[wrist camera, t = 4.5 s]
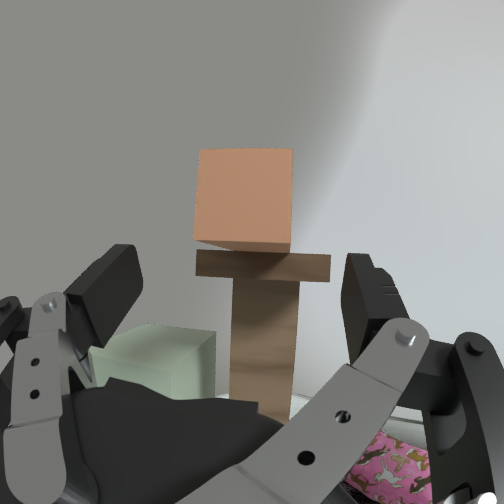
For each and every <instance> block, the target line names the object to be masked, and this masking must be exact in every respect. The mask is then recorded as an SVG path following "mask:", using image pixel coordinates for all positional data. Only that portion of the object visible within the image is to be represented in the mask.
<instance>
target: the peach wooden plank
mask: <svg viewBox="0 0 504 504" xmlns="http://www.w3.org/2000/svg"><path fill="white" fill-rule="evenodd" d="M292 158H293V149H281V148H279V149H278V148H231V149H201V150H200V160H199V172H198V182H197V194H196V195H197V196H196V207H195V222H194V240H196V241H200V242H203V243H207V244H211V245H215V246H219V247H222V248H226V249H230V250H234V251H249V252H274V253H290V245H291V216H292V215H291V214H292V165H293V159H292Z"/></svg>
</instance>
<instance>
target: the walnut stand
mask: <svg viewBox="0 0 504 504" xmlns="http://www.w3.org/2000/svg"><path fill="white" fill-rule="evenodd" d="M330 264H331V255H324V254H299V253H274V252H249V251H223V250H199V249H198V250H197V254H196V276H208V277H224V278H225V277H226V278H233V294H232V320H231V349H230V350H231V351H230V382H229V399H233V400H243V401H254V402H258V403H259V414H262V415H265V416H268V417H270V418H273V419H275V420H277V421H279V422H281V423H282V424H284V425H285V424H286V423H287V422H288V421H289V414H290V405H291V395H292V384H293V373H294V362H295V349H296V336H297V321H298V305H299V287H300V281H308V282H330Z"/></svg>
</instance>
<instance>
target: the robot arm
mask: <svg viewBox="0 0 504 504" xmlns="http://www.w3.org/2000/svg"><path fill="white" fill-rule="evenodd" d="M142 289H143V277H142V273H141V269H140V264H139V260H138V256H137V251H136V248H135V246H134V245H130V244H115V245H114V246H113V247H112V248H110V249H109V250H108V251H107V253H105V254H104V255H103V256H102V257H101V258H99V259H97V260H96V261H94V262H93V263H92V264H91V265H90V266H89V267H88V268H87V270H85V271H84V272H83V273H82V274H81V276H79V277H78V278H77V279H76V280H75V281H74V282H73V283H72V284H71V285H70V286H69V287H68V288H67V289H66V290H65V291H64V292H63V293H60V292H52V293H49V294H46V295H44V296H42V297H41V298H39V299H38V300H37V301H36V302H35V303H34V305H33V307H31V308H22V305H21V303H20V301H19V299H18V298H17V297H15V296H9V297H6V298H4V299H2V300H0V346H1V344H2V343H3V342H4V340H5V341H6V342H7V344H8V345H9V347H10V349H11V351H12V352H13V354H14V356H13V357H12V358H11V360H10V361H9V363H8V364H7V366H6V367H5V368H4V370H3V371H2V373H1V374H0V504H358V503H357V502H356V501H355V500H354V499H353V497H352V496H351V495H350V494H349V493H348V492H347V491H346V490H345V489H344V488H343V487H342V485H341V482H342V481H343V480H344V479H345V478H346V476H347V475H348V474H349V473H350V471H351V470H352V469H353V468H354V466H355V465H356V464H357V462H358V461H359V460H360V459H361V457H362V456H363V454H364V453H365V452H366V450H367V449H368V448H369V446H370V445H371V443H372V442H373V441H374V439H375V438H376V436H377V435H378V433H379V432H380V430H381V429H382V427H383V426H384V424H385V423H386V421H387V420H388V418H389V417H390V415H391V413H392V412H393V410H394V409H395V407H396V406H401V407H405V408H411V409H416V410H421V411H422V417H423V423H424V429H425V436H426V443H427V450H428V458H429V466H430V476H431V488H432V504H504V369H503V366H502V364H501V362H500V359H499V357H498V355H497V353H496V351H495V349H494V347H493V345H492V344H491V343H490V341H489V340H487V339H486V338H485V337H484V336H482V335H480V334H477V333H474V332H465V333H462V334H461V335H459V336H458V337H457V339H456V341H455V343H454V344H449V343H444V342H439V341H434V340H431V339H429V334H428V332H427V330H426V329H425V328H424V327H423V326H422V325H421V324H419V323H418V322H416V321H414V320H411V319H410V318H409V315H408V313H407V311H406V308H405V306H404V304H403V302H402V299H401V297H400V295H399V293H398V290H397V288H396V287H395V284H394V282H393V279H392V277H391V276H390V275H389V274H388V273H387V272H386V271H385V270H384V269H382V268H375V267H374V265H373V263H372V260H371V258H370V256H369V254H360V253H348V255H347V258H346V264H345V271H344V277H343V284H342V290H341V309H342V314H343V320H344V327H345V333H346V339H347V345H348V352H349V358H350V365H349V364H344V365H343V366H342V367H341V368H340V369H339V370H338V371H337V372H336V373H335V374H334V375H333V377H332V378H331V379H330V380H329V381H328V382H327V383H326V384H325V385H324V386H323V387H322V389H321V390H319V392H318V393H317V394H316V395H315V396H314V397H313V398H312V399H311V400H310V401H309V402H308V403H307V404H306V405H305V406H304V407H303V408H302V409H301V410H300V411H299V412H298V413H297V414H296V415H295V416H294V417H293V418H292V419H291V420H289V421H288V422H287V423H286V424H285V425H284V424H282V423H281V422H279V421H277V420H275V419H273V418H270V417H268V416H265V415H262V414H259V403H258V402H254V401H243V400H233V399H225V398H204V399H186V400H175V399H171V398H169V397H166V396H164V395H162V394H160V393H158V392H156V391H154V390H152V389H150V388H147V387H145V386H143V385H141V384H138V383H134V382H129V381H125V380H121V379H117V378H113V377H109V379H108V380H107V382H106V384H105V386H103V387H97V383H96V378H95V372H94V366H93V361H92V355H91V353H90V351H89V348H90V347H91V346H94V347H98V348H103V349H104V347H105V346H106V344H107V343H108V341H109V340H110V338H111V337H112V335H113V334H114V332H115V331H116V329H117V328H118V326H119V325H120V323H121V322H122V320H123V319H124V317H125V316H126V314H127V313H128V311H129V310H130V308H131V307H132V305H133V304H134V303H135V301H136V300H137V298H138V297H139V295H140V294H141V292H142ZM10 422H11V424H10V426H9V427H8V425H9V423H10Z"/></svg>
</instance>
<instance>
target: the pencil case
mask: <svg viewBox="0 0 504 504" xmlns="http://www.w3.org/2000/svg"><path fill="white" fill-rule="evenodd" d="M344 480H345V481H346V482H348V483H350V484H351V485H352V486H353V487H355V488H356V489H358V490H359V491H360V492H362V493H363V494H364V495H366V496H367V497H369V498H370V499H372V500H375V501H377V502H379V503H381V504H432V488H431V476H430V466H429V458H428V451H426V450H423V449H420V448H417V447H414V446H411V445H409V444H407V443H404V442H402V441H399V440H397V439H395V438H393V437H391V436H389V435H388V434H386V433H384V432H381V431H380V432H379V433H378V435H377V436H376V438H375V439H374V441H373V442H372V443H371V445H370V446H369V448H368V449H367V450H366V452H365V453H364V454H363V456H362V457H361V459H360V460H359V461H358V462H357V464H356V465H355V466H354V468H353V469H352V470H351V471H350V473H349V474H348V475H347V476H346V478H345V479H344Z"/></svg>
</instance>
